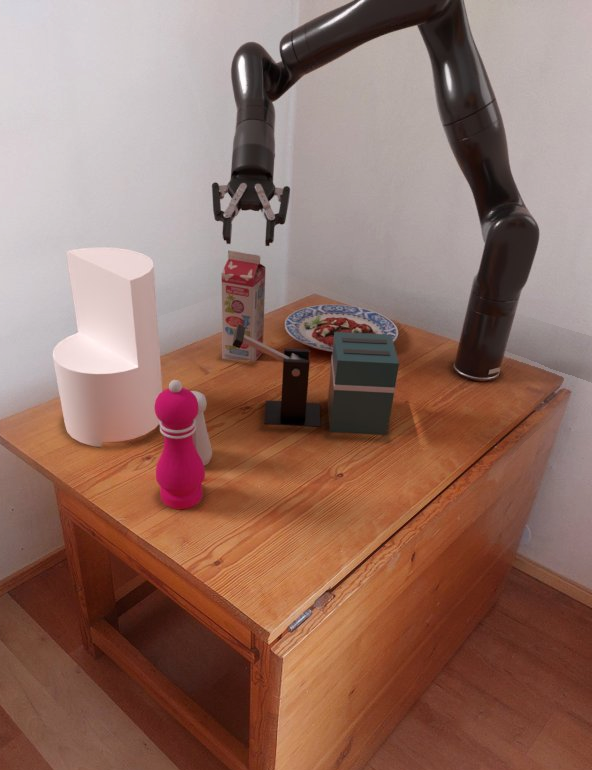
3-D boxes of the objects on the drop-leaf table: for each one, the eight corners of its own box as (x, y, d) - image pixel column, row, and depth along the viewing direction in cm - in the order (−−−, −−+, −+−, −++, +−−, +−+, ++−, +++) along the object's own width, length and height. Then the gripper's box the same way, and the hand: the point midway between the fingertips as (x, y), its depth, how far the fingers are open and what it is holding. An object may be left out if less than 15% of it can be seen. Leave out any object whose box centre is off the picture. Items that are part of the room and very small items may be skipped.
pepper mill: (213, 488, 99) (210, 373, 87) (193, 516, 93) (188, 398, 82) (171, 477, 100) (163, 364, 89) (149, 504, 95) (137, 387, 83)
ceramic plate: (418, 337, 147) (421, 325, 145) (349, 373, 131) (351, 360, 129) (332, 304, 161) (333, 293, 159) (261, 333, 145) (261, 321, 144)
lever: (230, 347, 105) (237, 336, 104) (233, 332, 110) (240, 321, 109) (299, 381, 108) (306, 371, 107) (299, 365, 113) (306, 354, 112)
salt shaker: (170, 469, 102) (165, 399, 95) (187, 450, 106) (183, 382, 99) (202, 479, 100) (200, 408, 93) (218, 459, 105) (217, 390, 97)
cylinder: (127, 385, 123) (111, 240, 107) (184, 421, 114) (176, 267, 98) (46, 418, 113) (15, 262, 97) (101, 459, 103) (77, 295, 87)
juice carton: (234, 346, 139) (234, 245, 127) (262, 352, 138) (266, 250, 125) (222, 359, 134) (221, 255, 121) (251, 365, 132) (253, 260, 120)
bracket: (264, 429, 113) (266, 364, 105) (266, 405, 119) (268, 343, 112) (320, 432, 113) (326, 367, 105) (319, 408, 119) (325, 346, 112)
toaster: (328, 437, 111) (336, 360, 103) (325, 404, 121) (333, 330, 112) (387, 440, 111) (400, 363, 103) (380, 406, 121) (392, 333, 112)
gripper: (211, 139, 109) (204, 229, 106) (294, 143, 109) (290, 234, 106) (214, 166, 117) (208, 251, 114) (293, 170, 117) (288, 255, 114)
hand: (247, 242), depth 110 cm, fingers open, 6 cm apart
